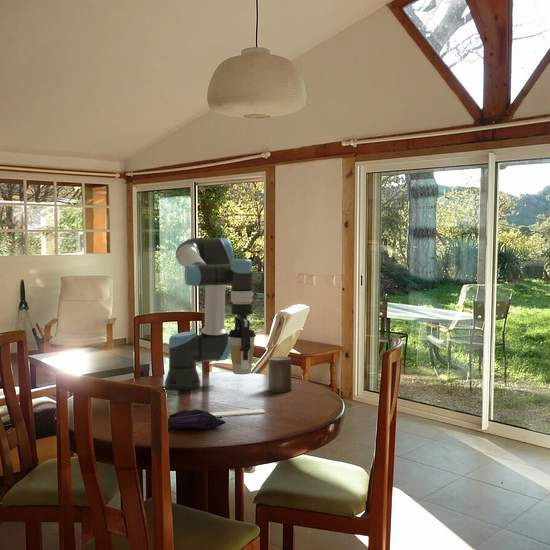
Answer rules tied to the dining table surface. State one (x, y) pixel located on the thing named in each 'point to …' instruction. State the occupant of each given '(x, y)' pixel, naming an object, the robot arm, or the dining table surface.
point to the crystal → (194, 420)
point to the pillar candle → (279, 374)
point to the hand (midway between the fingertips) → (242, 366)
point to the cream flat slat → (238, 412)
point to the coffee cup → (236, 353)
